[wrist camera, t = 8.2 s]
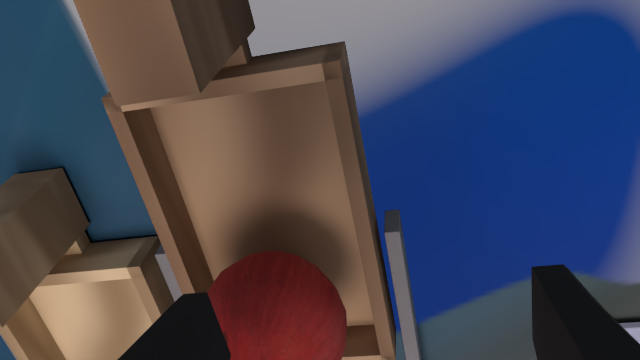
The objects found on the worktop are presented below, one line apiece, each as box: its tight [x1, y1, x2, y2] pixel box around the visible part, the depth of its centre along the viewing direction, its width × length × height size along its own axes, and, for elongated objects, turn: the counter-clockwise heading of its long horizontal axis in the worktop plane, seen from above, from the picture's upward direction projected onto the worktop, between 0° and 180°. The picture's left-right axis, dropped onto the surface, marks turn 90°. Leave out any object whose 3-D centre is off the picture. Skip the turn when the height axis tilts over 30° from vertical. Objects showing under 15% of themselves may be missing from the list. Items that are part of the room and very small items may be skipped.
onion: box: [207, 250, 347, 360], centre depth 21 cm, size 6×6×8 cm
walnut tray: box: [73, 0, 396, 360], centre depth 20 cm, size 9×18×6 cm, turn 11°
